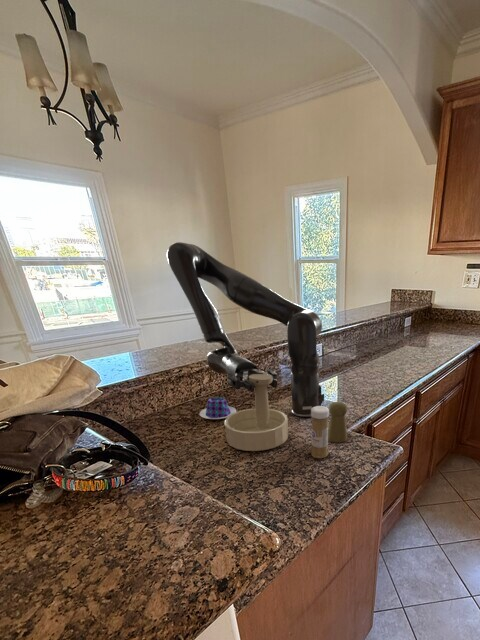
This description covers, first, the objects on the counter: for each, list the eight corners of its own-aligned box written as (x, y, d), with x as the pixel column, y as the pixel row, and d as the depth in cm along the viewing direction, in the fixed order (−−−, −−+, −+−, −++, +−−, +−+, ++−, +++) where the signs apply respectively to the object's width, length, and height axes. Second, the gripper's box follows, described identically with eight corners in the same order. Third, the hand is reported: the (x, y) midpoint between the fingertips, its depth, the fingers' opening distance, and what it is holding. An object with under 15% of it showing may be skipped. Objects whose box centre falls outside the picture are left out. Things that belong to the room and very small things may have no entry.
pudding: (241, 408, 124) (239, 394, 122) (229, 422, 113) (227, 407, 111) (208, 406, 125) (206, 392, 123) (193, 420, 114) (191, 405, 112)
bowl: (272, 421, 114) (271, 404, 112) (298, 442, 101) (298, 423, 98) (218, 434, 105) (216, 415, 103) (240, 459, 92) (238, 438, 90)
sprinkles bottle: (307, 455, 94) (307, 408, 89) (318, 449, 98) (319, 404, 92) (320, 461, 92) (320, 413, 86) (331, 454, 95) (332, 408, 89)
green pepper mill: (349, 435, 106) (351, 400, 101) (344, 443, 101) (345, 408, 96) (330, 432, 108) (331, 398, 103) (324, 440, 102) (324, 405, 98)
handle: (269, 431, 99) (268, 380, 93) (248, 428, 100) (245, 377, 94) (276, 425, 103) (275, 375, 97) (255, 422, 105) (253, 373, 98)
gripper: (216, 361, 102) (237, 376, 89) (262, 355, 109) (287, 368, 96) (219, 386, 105) (240, 404, 93) (263, 378, 112) (288, 394, 100)
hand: (264, 386), depth 95 cm, fingers closed on handle, 6 cm apart
